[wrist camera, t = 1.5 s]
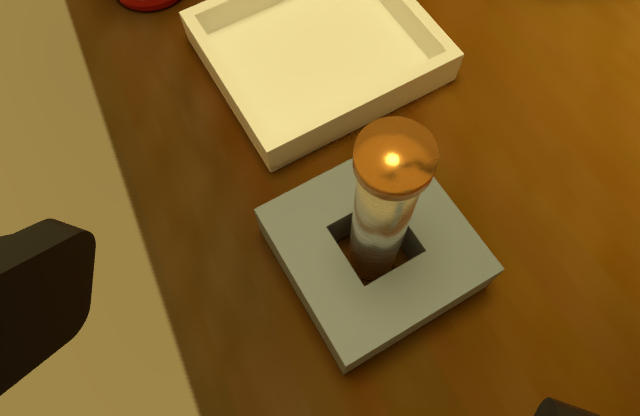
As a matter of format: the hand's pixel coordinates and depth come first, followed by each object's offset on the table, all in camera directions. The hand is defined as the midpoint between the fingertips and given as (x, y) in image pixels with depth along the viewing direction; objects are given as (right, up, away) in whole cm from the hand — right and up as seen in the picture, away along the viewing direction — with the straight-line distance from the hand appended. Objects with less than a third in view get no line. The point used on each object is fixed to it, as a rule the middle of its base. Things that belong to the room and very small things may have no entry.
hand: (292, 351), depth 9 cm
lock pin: (+4, -1, +29) cm, 30 cm away
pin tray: (0, +16, +37) cm, 40 cm away
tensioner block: (+4, -1, +29) cm, 30 cm away
